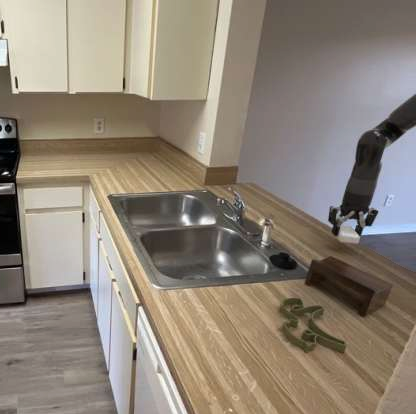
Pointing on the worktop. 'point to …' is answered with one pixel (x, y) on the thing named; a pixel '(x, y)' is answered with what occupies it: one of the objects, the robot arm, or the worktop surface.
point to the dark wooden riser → (351, 281)
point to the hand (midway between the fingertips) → (345, 235)
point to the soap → (348, 235)
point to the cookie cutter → (307, 335)
